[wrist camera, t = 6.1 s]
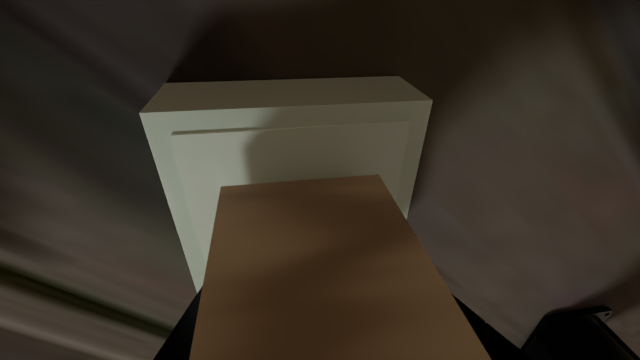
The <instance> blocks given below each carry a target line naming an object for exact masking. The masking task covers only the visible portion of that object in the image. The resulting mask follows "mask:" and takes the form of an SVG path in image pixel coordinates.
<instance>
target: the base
mask: <svg viewBox="0 0 640 360" xmlns="http://www.w3.org/2000/svg"><path fill="white" fill-rule="evenodd" d="M432 102H433V100H432V99H430V98H429V97H428V96H426V95H425V94H423V93H422V92H421V91H419V90H418V89H416V88H415V87H413V86H412V85H411V84H409V83H408V82H406V81H405V80H404V79H402V78H401V77H399V76H381V77H348V78H316V79H283V80H250V81H218V82H185V83H165V84H164V85H163V86H162V87H161V89H160V90H159V91H158V92H157V93H156V94H155V95H154V97H153V98H152V99H151V100H150V101H149V102H148V103H147V105H146V106H145V107H144V108H143V109H142V110H141V112H140V113H139V114H140V117H141V120H142V123H143V126H144V129H145V133H146V136H147V139H148V142H149V145H150V148H151V151H152V154H153V157H154V160H155V164H156V167H157V170H158V173H159V176H160V179H161V182H162V185H163V188H164V191H165V195H166V198H167V201H168V204H169V207H170V210H171V213H172V216H173V219H174V222H175V226H176V229H177V232H178V235H179V238H180V241H181V244H182V247H183V250H184V254H185V257H186V260H187V263H188V266H189V269H190V272H191V275H192V278H193V281H194V285H195V288H196V291H197V293H198V292H199V290H200V289H201V287H202V286H203V281H204V276H205V270H206V265H207V259H208V254H209V248H210V243H211V237H212V232H213V226H214V221H215V215H216V210H217V204H218V199H219V193H220V188H221V186H233V185H246V184H259V183H272V182H285V181H298V180H310V179H323V178H336V177H349V176H362V175H375V174H379V176H380V177H381V179H382V181H383V182H384V184H385V185H386V187H387V189H388V190H389V192H390V194H391V195H392V197H393V199H394V200H395V202H396V204H397V205H398V207H399V208H400V210H401V212H402V213H403V215H404V217H405V218H406V219H407V215H408V210H409V206H410V201H411V197H412V192H413V188H414V183H415V179H416V174H417V170H418V165H419V161H420V156H421V152H422V147H423V143H424V138H425V134H426V129H427V125H428V120H429V115H430V111H431V106H432Z"/></svg>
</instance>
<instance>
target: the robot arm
mask: <svg viewBox="0 0 640 360" xmlns="http://www.w3.org/2000/svg"><path fill="white" fill-rule="evenodd" d="M202 287H203V286H202ZM202 287H201V289H200V290H199V292H198V293H197V295H196V296H195V298H194V299H193V301H192V302H191V304H190V305H189V307H188V308H187V310H186V311H185V313H184V314H183V316H182V317H181V319H180V320H179V322H178V323H177V325H176V326H175V328H174V329H173V331H172V332H171V334H170V335H169V337H168V338H167V340H166V341H165V343H164V344H163V346H162V347H161V349H160V350H159V352H158V353H157V355H156V356H155V358H154V359H153V360H189V358H190V353H191V347H192V342H193V336H194V331H195V325H196V320H197V314H198V309H199V303H200V298H201V292H202ZM452 296H453V297H454V299H455V301H456V302H457V304H458V305H459V307H460V309H461V310H462V312H463V314H464V315H465V317H466V319H467V320H468V322H469V324H470V325H471V327H472V329H473V330H474V332H475V333H476V335H477V337H478V338H479V340H480V342H481V343H482V345H483V347H484V348H485V350H486V352H487V353H488V355H489V356H490V358H491V360H640V358H639V357H638V356H637V355H636V354H635V353H634V352H633V351H632V350H631V349H630V348H629V347H628V346H627V345H626V344H625V343H624V342H623V341H622V340H621V339H620V338H619V337H618V336H617V335H616V334H615V333H614V332H613V331H612V330H611V329H610V328H609V327H608V326H607V325H606V324H605V323H604V322H605V321H606V320H607V319H608V318H609V316H610V315H611V314H612V313H613V311H612V310H611V309H610V308H609V307H601V308H595V309H589V310H583V311H577V312H571V313H565V314H558V315H552V316H548V317H546V318H545V319H543V321H542V322H541V324H540V325H539V326H538V328H537V329H536V331H535V332H534V333H533V335H532V336H531V338H530V339H529V341H528V342H527V343H526V345H525V346H524V348H523V349H522V350H520V349H519V348H518V347H516V346H515V345H514V344H513V343H511V342H510V341H509V340H508V339H506V338H505V337H504V336H503V335H501V334H500V333H499V332H498V331H496V330H495V329H494V328H493V327H491V326H490V325H489V324H488V323H486V324H485V321H484V320H483V319H482V318H480V317H479V316H478V315H477V314H476V313H474V312H473V311H472V310H471V309H470V308H468V307H467V306H466V305H465V304H464V303H462V302H461V301H460V300H459V299H457V298H456V297H455V296H454V295H453V294H452Z"/></svg>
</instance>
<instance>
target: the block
mask: <svg viewBox="0 0 640 360" xmlns="http://www.w3.org/2000/svg"><path fill="white" fill-rule="evenodd" d="M189 360H491V358H490V356H489V355H488V353H487V352H486V350H485V348H484V347H483V345H482V343H481V342H480V340H479V338H478V337H477V335H476V333H475V332H474V330H473V329H472V327H471V325H470V324H469V322H468V320H467V319H466V317H465V315H464V314H463V312H462V310H461V309H460V307H459V305H458V304H457V302H456V301H455V299H454V297H453V296H452V294H451V292H450V291H449V289H448V287H447V286H446V284H445V282H444V281H443V279H442V278H441V276H440V274H439V273H438V271H437V269H436V268H435V266H434V264H433V263H432V261H431V259H430V258H429V256H428V255H427V253H426V251H425V250H424V248H423V246H422V245H421V243H420V241H419V240H418V238H417V236H416V235H415V233H414V231H413V230H412V228H411V227H410V225H409V223H408V222H407V220H406V218H405V217H404V215H403V213H402V212H401V210H400V208H399V207H398V205H397V204H396V202H395V200H394V199H393V197H392V195H391V194H390V192H389V190H388V189H387V187H386V185H385V184H384V182H383V181H382V179H381V177H380V176H379V174H375V175H362V176H349V177H336V178H323V179H310V180H298V181H285V182H272V183H259V184H246V185H233V186H221V188H220V193H219V199H218V204H217V210H216V215H215V221H214V226H213V232H212V237H211V243H210V248H209V254H208V259H207V265H206V270H205V276H204V281H203V287H202V292H201V298H200V303H199V309H198V314H197V320H196V325H195V331H194V336H193V342H192V347H191V353H190V358H189Z"/></svg>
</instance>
